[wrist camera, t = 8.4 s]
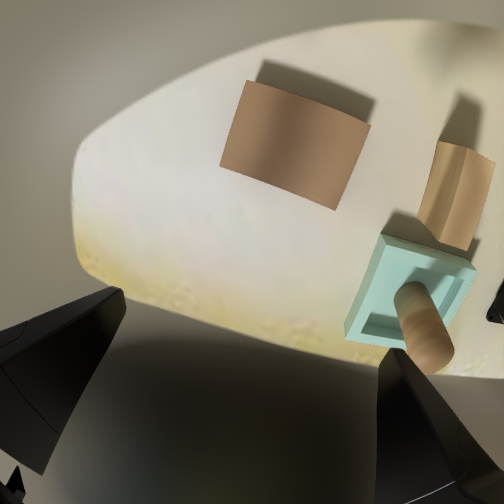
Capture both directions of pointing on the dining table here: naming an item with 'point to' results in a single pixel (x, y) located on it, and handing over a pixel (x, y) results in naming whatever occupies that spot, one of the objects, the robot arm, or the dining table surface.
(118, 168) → the dining table surface
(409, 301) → the oak dowel
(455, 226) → the block
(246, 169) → the walnut board
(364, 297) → the tray
